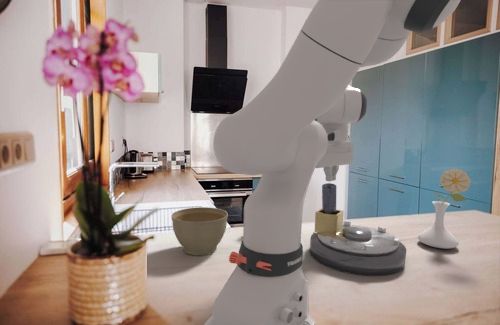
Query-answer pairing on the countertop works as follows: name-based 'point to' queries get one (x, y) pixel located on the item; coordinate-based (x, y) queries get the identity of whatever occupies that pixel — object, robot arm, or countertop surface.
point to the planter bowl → (199, 229)
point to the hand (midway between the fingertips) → (330, 180)
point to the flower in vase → (437, 233)
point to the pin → (329, 198)
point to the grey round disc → (353, 236)
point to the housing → (358, 260)
